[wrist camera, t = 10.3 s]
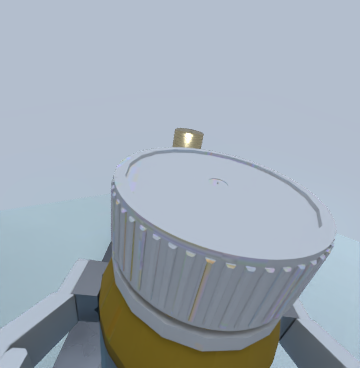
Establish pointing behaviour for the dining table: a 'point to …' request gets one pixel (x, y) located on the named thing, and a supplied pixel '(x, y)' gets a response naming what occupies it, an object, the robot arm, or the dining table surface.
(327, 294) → the dining table surface
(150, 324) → the bottle
